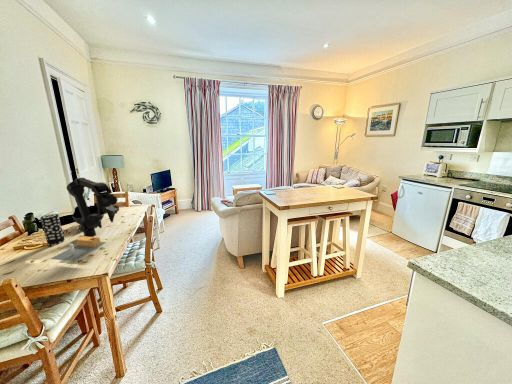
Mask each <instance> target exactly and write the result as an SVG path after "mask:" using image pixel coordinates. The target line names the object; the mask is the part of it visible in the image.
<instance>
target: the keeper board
mask: <svg viewBox="0 0 512 384" xmlns="http://www.w3.org/2000/svg"><path fill="white" fill-rule="evenodd" d="M100 242H101V243H100V244H98V245H96V246H95V247H91V246H79V245H78V244H77V245H74V244H73V243H69V245H68V247H69V248H68V249H67V250H65V251H63V252H61V253H59V254H57V255H55V256H53V257H50V260H60V261H67V262H68V261H69V262H75V261H77V260H79V259H80V258H82V257H83V256H86V255H87V254H89V253H91V252H93V251H94V250H96V249H98V248H99V247H101V246H104V245H105V244H107V241H100Z"/></svg>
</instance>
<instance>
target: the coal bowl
mask: <svg viewBox="0 0 512 384" xmlns="http://www.w3.org/2000/svg"><path fill="white" fill-rule="evenodd" d="M96 205H97V202H94V203H93V205H90V206H88V205H87V207H88V209H89V212H90V214H99V213H97V211H98V207H96ZM104 216H105V214H104V215H102V218H101V219H102V220H103V218H104ZM72 218H73V221H74V222H75V223H76V224H78V225H79V226H81V222H80V221H81V218H82V216H81V214H80V211H79V208H78V206H76V207H74V211H73V214H72Z"/></svg>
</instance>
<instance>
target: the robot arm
mask: <svg viewBox="0 0 512 384" xmlns="http://www.w3.org/2000/svg"><path fill="white" fill-rule="evenodd" d="M85 188H87V189H89V190H91V192H92V193H94V194H93V196H94V197H95V200H96V203H97V205H96V207H98V211H97V213H99V214H90V212H89V209H88V207H89V206H88V204H87V201H86V199H85V196H84V195H85V194H84V193H85ZM66 190H67V191H68V194H69V195H71V196H72V197H73V198H74V200H75V203H76V205H77V206H78V208H79V211H80V214H81V216H82V218H81V221H80V222H81V225H79V227H78V230H79V231H80V232H82V233H83V236H86V237H96V236H97V233H96V230H95V229H97V228H100V229H102V228H103V227H102V221H103V219H101V218H102V215H104V216H105V215H107V216H108V218H109V222H111V223H114V219H115V215H116V214H118V213H119V211H120V206H119V205H118V204H117V202H118V198H117V197H116V196H115V195H114V193H113V192H112V190H111V188H109V186H108V184H107V183H106V182H95V181H92V180H90V179H87V178H86V177H79V178H75V179H74V180H73V181H71V182H70V183H68V184H67V186H66ZM77 206H76V207H77ZM87 206H88V207H87Z"/></svg>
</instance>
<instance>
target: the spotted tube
mask: <svg viewBox="0 0 512 384" xmlns="http://www.w3.org/2000/svg"><path fill="white" fill-rule="evenodd" d="M39 219H40V222H41V225H42V229H43V232H44V235H45V240H46V242H47V246H48V248H53V247H54V246H57V245H60V244H62V243H64V242H65V241H66V239H65V235H64V233H63V232H64V231H63V228H62V224H61V219H60V215H59V214H58V213H51V214H50V213H49V214H46V215H43V216H41V217H40V218H39Z"/></svg>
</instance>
